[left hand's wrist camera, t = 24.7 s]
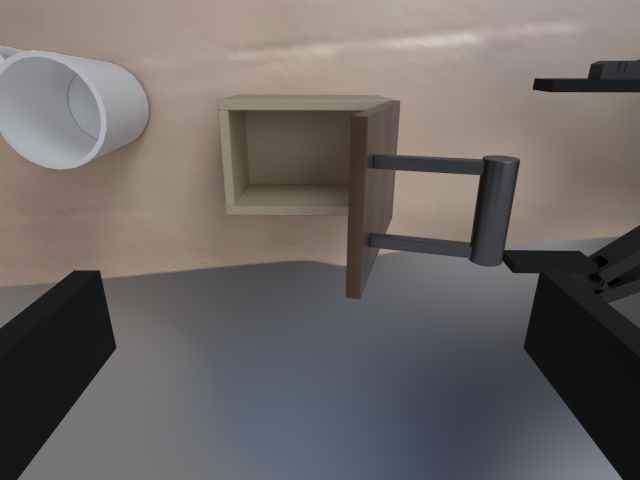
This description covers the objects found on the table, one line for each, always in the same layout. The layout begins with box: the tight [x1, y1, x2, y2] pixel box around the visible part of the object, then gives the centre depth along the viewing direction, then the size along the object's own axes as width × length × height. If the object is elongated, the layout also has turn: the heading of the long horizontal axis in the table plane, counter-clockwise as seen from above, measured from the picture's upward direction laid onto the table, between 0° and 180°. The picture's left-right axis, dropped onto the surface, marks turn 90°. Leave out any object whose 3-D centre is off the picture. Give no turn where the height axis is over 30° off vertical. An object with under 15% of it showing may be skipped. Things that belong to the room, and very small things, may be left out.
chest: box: [217, 95, 391, 215], centre depth 39 cm, size 14×10×9 cm
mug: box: [0, 46, 150, 170], centre depth 37 cm, size 11×9×10 cm
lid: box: [346, 100, 520, 299], centre depth 27 cm, size 15×10×8 cm
